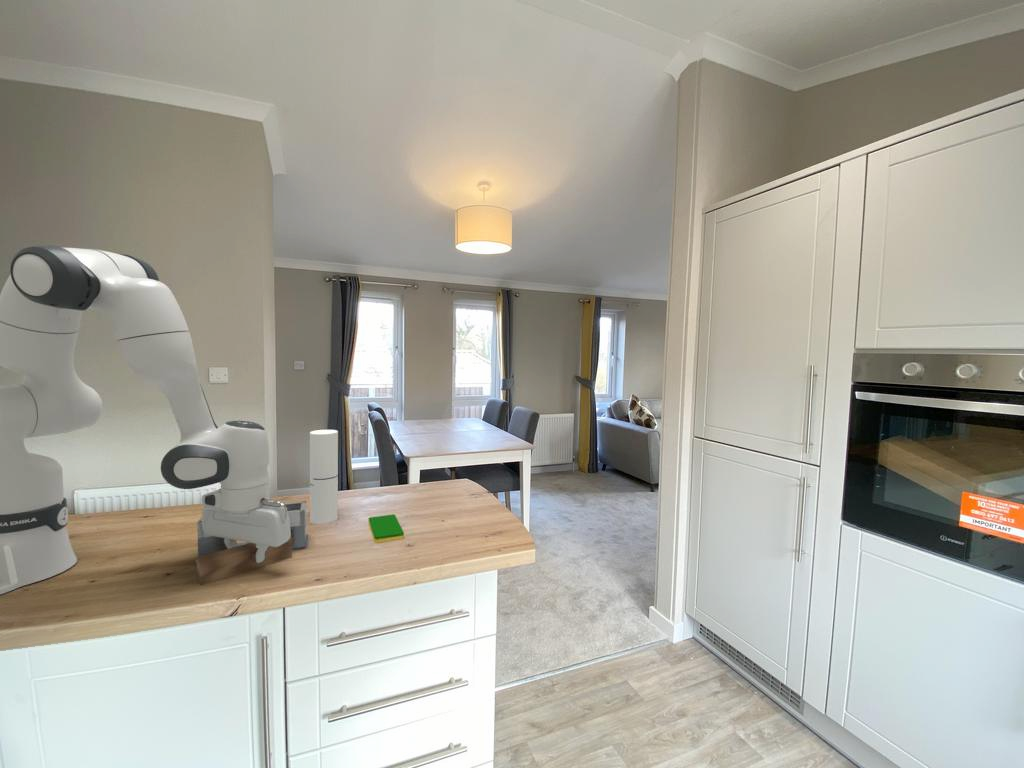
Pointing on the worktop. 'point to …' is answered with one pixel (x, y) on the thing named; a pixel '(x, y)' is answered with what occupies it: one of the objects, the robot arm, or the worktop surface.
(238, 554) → the rail
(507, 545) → the worktop surface
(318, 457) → the cylindrical container
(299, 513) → the bracket stand
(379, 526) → the dish sponge
